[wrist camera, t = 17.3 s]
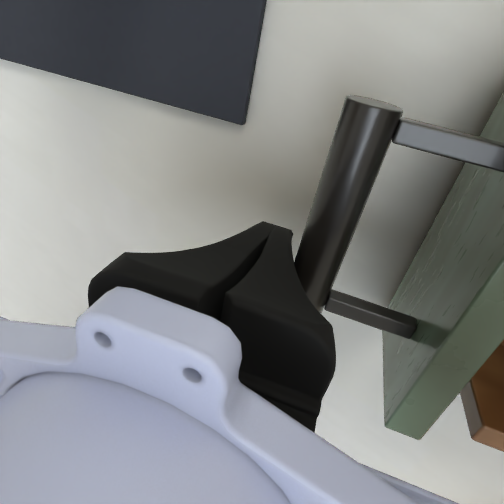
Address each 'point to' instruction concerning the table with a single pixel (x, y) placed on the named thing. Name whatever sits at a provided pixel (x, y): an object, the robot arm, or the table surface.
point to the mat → (143, 47)
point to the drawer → (422, 269)
